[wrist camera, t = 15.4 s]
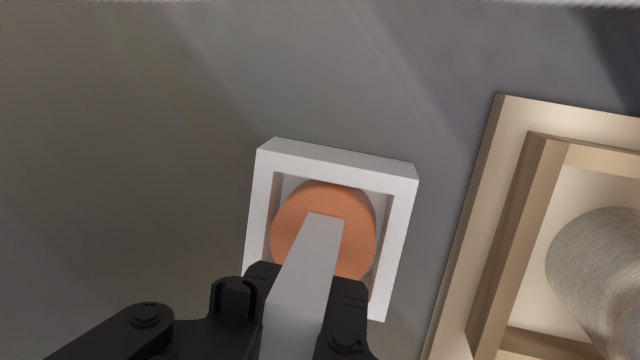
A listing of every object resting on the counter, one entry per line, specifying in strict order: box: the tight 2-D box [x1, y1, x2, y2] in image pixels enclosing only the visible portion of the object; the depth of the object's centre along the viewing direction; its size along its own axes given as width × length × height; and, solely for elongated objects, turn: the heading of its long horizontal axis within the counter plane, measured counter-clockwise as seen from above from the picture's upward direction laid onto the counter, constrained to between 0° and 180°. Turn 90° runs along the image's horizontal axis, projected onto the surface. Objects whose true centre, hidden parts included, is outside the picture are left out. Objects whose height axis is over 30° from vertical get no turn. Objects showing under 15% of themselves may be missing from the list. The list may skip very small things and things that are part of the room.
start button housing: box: [241, 136, 419, 322], centre depth 19 cm, size 7×7×3 cm
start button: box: [269, 179, 376, 280], centre depth 18 cm, size 4×4×2 cm
